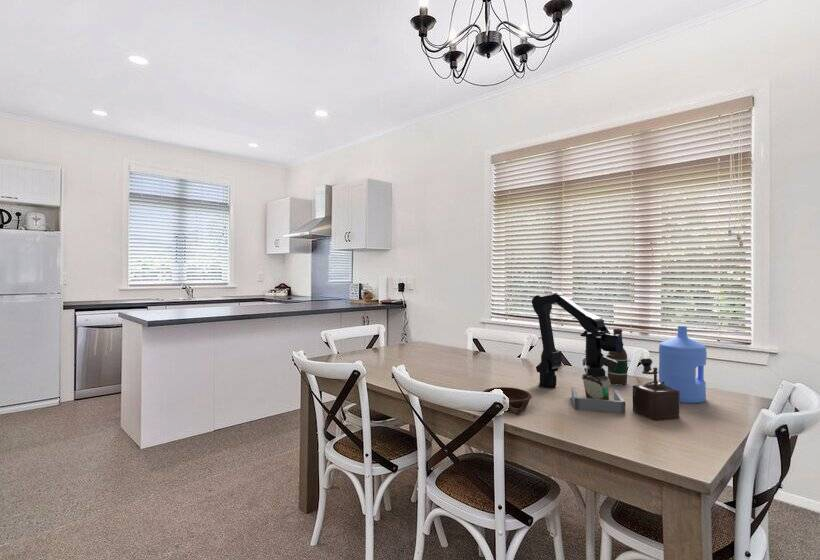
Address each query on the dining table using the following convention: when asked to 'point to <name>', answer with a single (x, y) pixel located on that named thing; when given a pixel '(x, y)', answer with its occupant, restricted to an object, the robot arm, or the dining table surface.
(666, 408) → the manual coffee grinder
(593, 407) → the box
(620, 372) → the beer bottle
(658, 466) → the dining table surface
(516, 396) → the dish
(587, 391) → the food container
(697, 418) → the dining table surface
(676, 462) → the dining table surface
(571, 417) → the dining table surface
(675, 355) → the water jug
